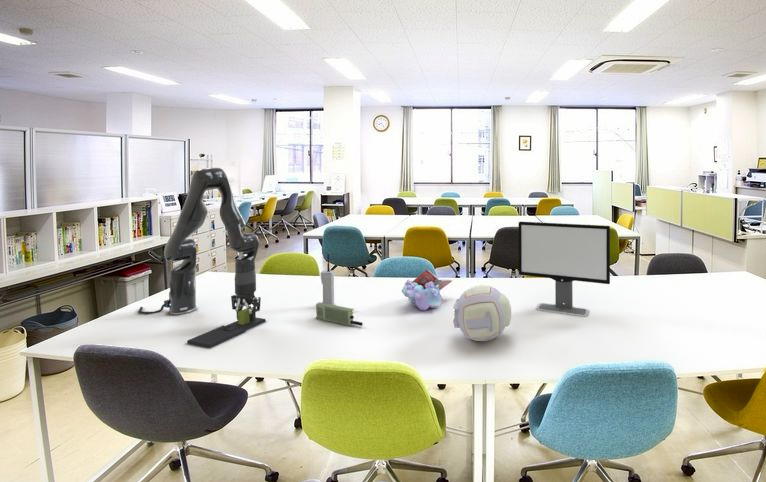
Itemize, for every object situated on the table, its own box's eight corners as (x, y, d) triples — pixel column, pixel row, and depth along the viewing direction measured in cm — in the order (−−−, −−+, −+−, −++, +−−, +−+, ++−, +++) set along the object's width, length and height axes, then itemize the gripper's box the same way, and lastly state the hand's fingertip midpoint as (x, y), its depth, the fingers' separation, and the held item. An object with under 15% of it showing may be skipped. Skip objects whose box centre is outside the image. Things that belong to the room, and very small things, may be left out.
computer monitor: (517, 307, 172) (517, 222, 171) (522, 301, 180) (522, 220, 179) (609, 320, 157) (609, 227, 156) (610, 312, 164) (610, 224, 164)
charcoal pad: (187, 343, 137) (187, 340, 137) (223, 328, 151) (223, 325, 151) (210, 348, 134) (210, 344, 134) (245, 331, 147) (245, 329, 147)
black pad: (218, 331, 148) (218, 315, 148) (247, 318, 160) (247, 304, 160) (237, 334, 145) (236, 318, 145) (265, 321, 157) (265, 306, 157)
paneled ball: (456, 326, 151) (455, 278, 151) (509, 326, 150) (509, 278, 150) (450, 351, 130) (450, 295, 130) (512, 351, 129) (512, 296, 129)
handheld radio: (321, 316, 163) (364, 325, 152) (315, 319, 160) (359, 328, 149) (320, 301, 162) (364, 309, 152) (314, 304, 159) (358, 313, 149)
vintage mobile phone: (323, 304, 176) (322, 253, 176) (334, 304, 177) (333, 253, 176) (320, 307, 173) (320, 255, 172) (331, 307, 173) (331, 255, 173)
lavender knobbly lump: (395, 303, 164) (416, 269, 164) (399, 286, 185) (417, 256, 186) (434, 324, 167) (454, 290, 167) (434, 305, 188) (452, 275, 189)
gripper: (224, 282, 152) (225, 322, 152) (250, 285, 148) (251, 326, 148) (241, 277, 159) (241, 315, 160) (266, 280, 155) (267, 319, 155)
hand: (246, 320), depth 154 cm, fingers open, 6 cm apart
